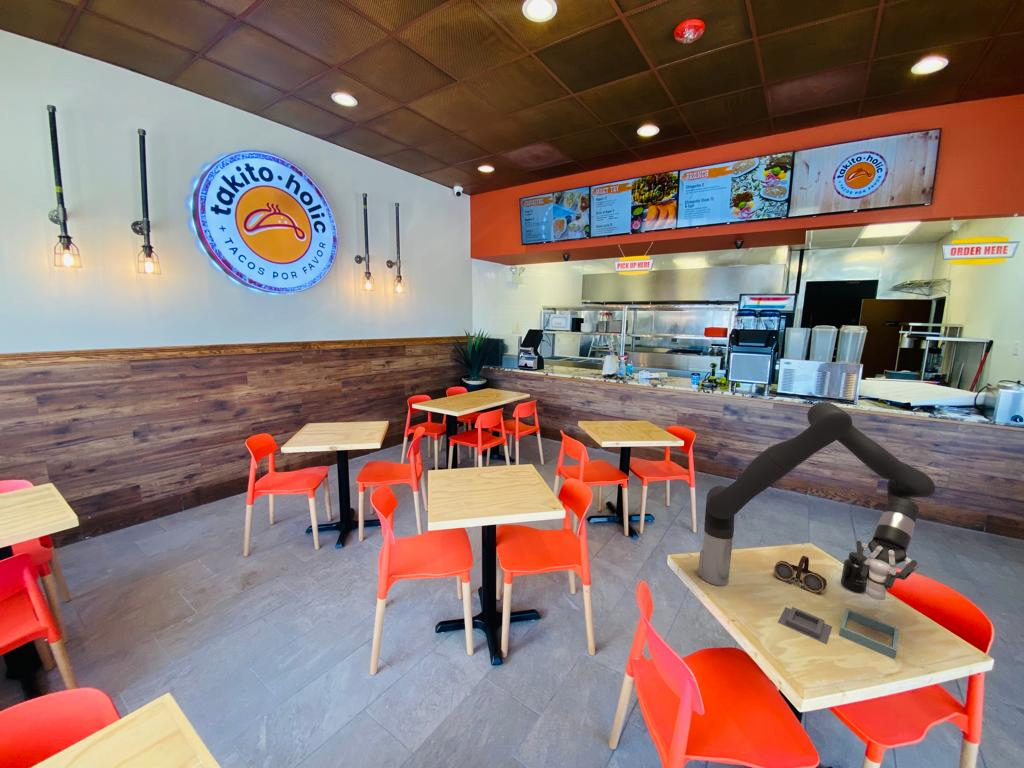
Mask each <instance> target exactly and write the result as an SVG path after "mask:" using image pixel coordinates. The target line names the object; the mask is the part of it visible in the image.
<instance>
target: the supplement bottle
mask: <svg viewBox="0 0 1024 768" xmlns="http://www.w3.org/2000/svg"><path fill="white" fill-rule="evenodd" d="M863 559H864V560H867V559H868V557H867V556H866V555H864V554H863ZM862 569H863V565H862V564H860V563H859V562H858V558H857V551H850V552H849V554H848V557H847V558H846V559H844V561H843V566H842V572H841V579H840V584H841V586H842V587H843V588H845V589H846V590H848V591H850V592H853V593H855V594H856V593H858V594H863V593H865V592H866V585H867V582H868V578H867V581H865V580H863V577H862V576H861V571H862Z"/></svg>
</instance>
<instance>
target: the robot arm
mask: <svg viewBox="0 0 1024 768" xmlns="http://www.w3.org/2000/svg"><path fill="white" fill-rule="evenodd" d="M806 415H807V418H806V419H807V421H808V423H809V424H810V426H809V427H807V428H806V429H804V430H803V431H802V432H801V433H799V434H798V435H797V436H795V437H792V438H789V439H787V440H784V441H781V442H778V443H775V444H773V445H771V446H769V447H768V448H766V449H765V450H764V451H762V452H761V453H760V454H758V455H757V456H756V457H755V458H754V459H753V460H752V461H751V462H750V463H749V464H748V465H747V466H746V468H745V469H744V470H743V472H742V473H741V474H740V475H739V477H738V478H737V479H736V480H735V481H734V482H732V483H731V484H730V485H728V486H724V485H717V486H713V487H712V488H711V489H709V491H708V492H707V494H706V502H705V513H704V526H703V538H702V548H701V549H700V551H699V558H698V569H697V576H698V577H700V578H701V579H702V580H704V581H705V582H707V583H709V584H712V585H715V586H726V585H727V584H728V583H729V579H730V571H731V569H730V568H731V560H732V551H733V544H734V543H733V541H734V533H735V515H737V514H738V512H740V511H741V510H742V508H743V507H745V506H746V505H747V504H748V503H749V502H750V501H752V500H753V499H754V498H755V497H756V496H758V495H759V494H761V493H762V492H764V491H765V490H767V489H768V488H770V487H771V486H772V485H774V484H775V483H776V482H778V481H780V480H781V479H782V478H783V477H785V476H787V475H788V474H790V472H791V471H793V470H794V469H795V468H797V467H798V466H799V465H801V464H802V463H804V462H805V461H807V460H808V459H809V458H810V457H812V456H814V454H816V453H817V452H819V451H820V450H822V449H824V448H825V447H827V446H829V445H830V444H833V443H834V442H836V441H837V442H839V443H840V444H841V445H842V446H843V447H845V448H846V449H847V450H848V451H850V453H852V454H853V455H854V456H855V457H856V458H858V460H860V462H862V464H864V465H865V466H866V467H867V468H869V469H870V470H871V471H873V472H874V473H875V474H876V475H877V476H879V477H880V478H882V479H885V480H888V481H887V484H886V488H887V489H886V490H887V491H886V492H887V495H886V496H887V503H886V506H885V508H884V511H883V514H882V515H881V516H880V518H879V521H878V524H877V526H876V529H875V531H874V534H873V537H872V540H871V541H869V542H868V543H865V542H862V541H861V540H857V541H856V553H857V558H858V562H859V563H860V564H862V565H863V569H862V571H861V576H862V577H863V580H865V581H867V578H868V575H869V566H870V560H871V559H878V560H882V561H884V562H886V563H888V564H889V565H890V570H889V574H888V576H887V579H886V582H885V584H884V588H885V589H886V590H890V589H893V586H894V584H895V582H896V580H897V579H899V580H903V581H905V580H906V579H908V578H909V576H911V574H913V572H914V571H916V570H917V568H918V567H919V565H918V561H917V560H915V559H911V558H909V557H908V556H907V551H908V549H909V547H910V542H911V539H912V538H913V536H914V535H913V533H914V531H915V530H914V529H915V525H916V522H917V519H918V516H919V512H920V508H919V506H918V504H917V503H916V502H914V501H913V500H910V499H909V498H928V497H931V496H932V495H934V494H935V491H936V485H935V483H934V481H933V479H932V478H931V477H930V476H929V475H928V474H926V473H925V472H923V471H921V470H919V469H918V468H915V467H913V466H912V465H911V466H910V465H909V464H907V463H905V462H902V461H900V460H899V459H898V457H896V456H894V455H893V454H892V453H891V452H890V451H888V450H887V449H886V448H884V447H883V446H881V445H880V444H878V443H877V442H875V440H872V439H871V438H870V437H868V436H867V435H866V434H864V433H863V432H862V431H860V430H859V429H858V428H856V426H854V425H853V419H852V417H851V416H850V414H849V413H848V412H846V411H844V410H843V409H842V408H840V407H839V406H838V405H835V404H833V403H831V402H819V403H818V402H817V403H816V404H813V405H812V406H811V407H809V409H808V411H807V413H806ZM867 549H869V551H870V554H869V555H868V557H867V560H864V559H863V555H864V552H865V551H867ZM902 562H905V567H904V568H903V569H902V570H900V571H897V565H898V564H899V563H902ZM867 582H868V581H867Z"/></svg>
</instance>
